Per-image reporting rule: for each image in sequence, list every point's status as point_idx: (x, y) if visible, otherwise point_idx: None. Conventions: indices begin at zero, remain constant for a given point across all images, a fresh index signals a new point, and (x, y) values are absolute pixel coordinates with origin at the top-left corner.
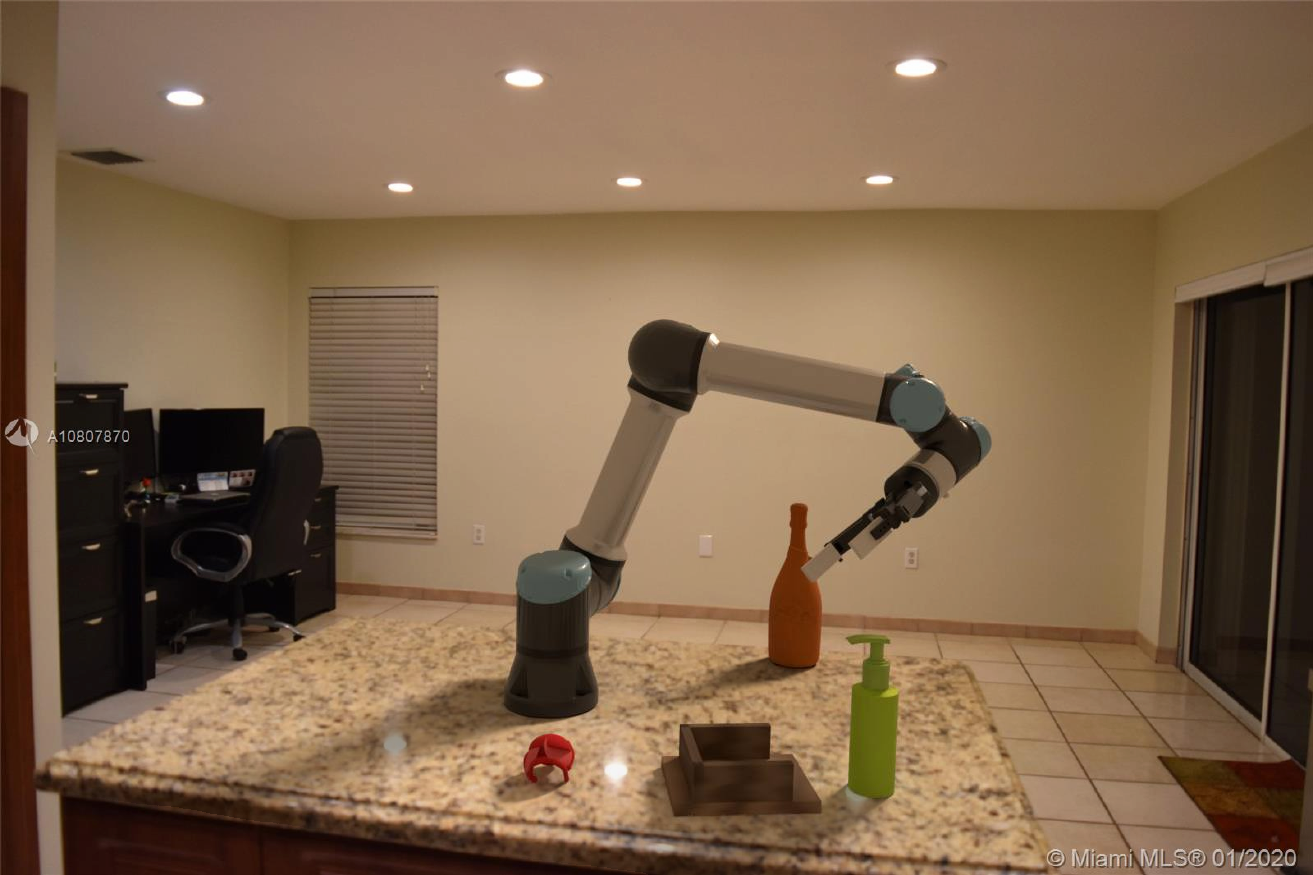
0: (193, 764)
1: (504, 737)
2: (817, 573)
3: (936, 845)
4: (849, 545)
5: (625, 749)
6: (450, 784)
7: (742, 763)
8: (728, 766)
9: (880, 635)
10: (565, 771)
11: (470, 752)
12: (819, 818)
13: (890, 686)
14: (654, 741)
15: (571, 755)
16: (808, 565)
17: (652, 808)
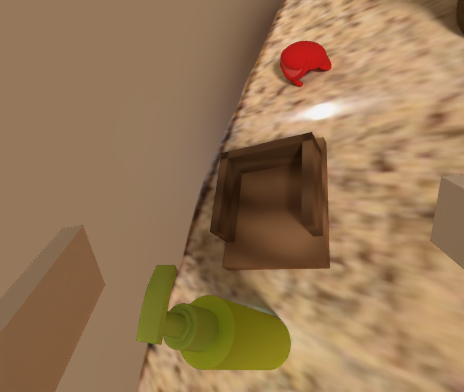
0: None
1: (394, 15)
2: (455, 245)
3: (168, 351)
4: (84, 233)
5: (369, 108)
6: (301, 28)
7: (219, 188)
8: (218, 178)
9: (154, 331)
10: (289, 79)
11: (357, 11)
12: (221, 266)
13: (202, 358)
14: (394, 128)
15: (297, 73)
16: (457, 196)
17: None
